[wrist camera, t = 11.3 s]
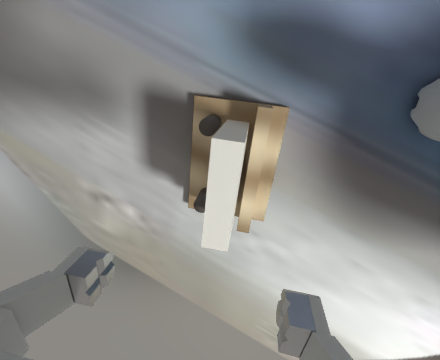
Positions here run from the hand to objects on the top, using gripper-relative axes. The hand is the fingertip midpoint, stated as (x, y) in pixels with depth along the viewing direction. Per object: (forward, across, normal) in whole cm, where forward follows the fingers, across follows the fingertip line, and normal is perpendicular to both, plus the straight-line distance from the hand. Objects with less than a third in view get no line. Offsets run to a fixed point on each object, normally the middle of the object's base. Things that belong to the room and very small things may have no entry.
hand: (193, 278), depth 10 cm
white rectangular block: (+17, 0, +1) cm, 17 cm away
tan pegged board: (+18, 0, +1) cm, 18 cm away
